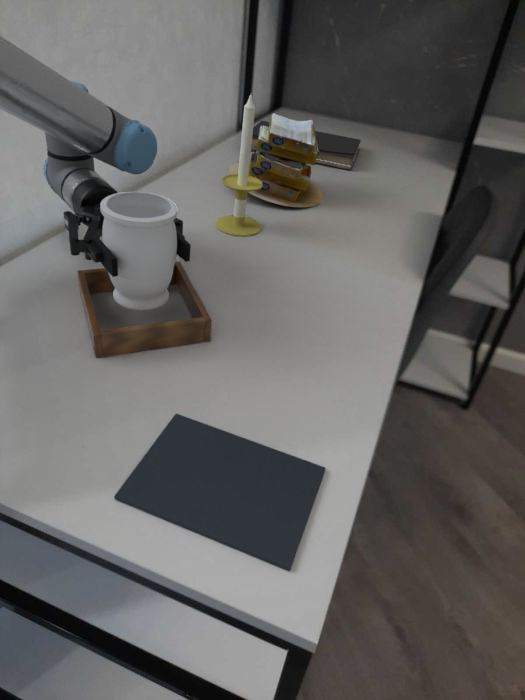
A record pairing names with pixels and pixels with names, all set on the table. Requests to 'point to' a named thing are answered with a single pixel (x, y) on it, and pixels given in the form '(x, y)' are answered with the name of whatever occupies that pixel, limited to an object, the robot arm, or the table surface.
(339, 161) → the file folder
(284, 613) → the table surface
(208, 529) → the mat
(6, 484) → the table surface
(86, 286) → the wooden square frame
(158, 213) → the jar
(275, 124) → the snack boxes on plate
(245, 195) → the candle
